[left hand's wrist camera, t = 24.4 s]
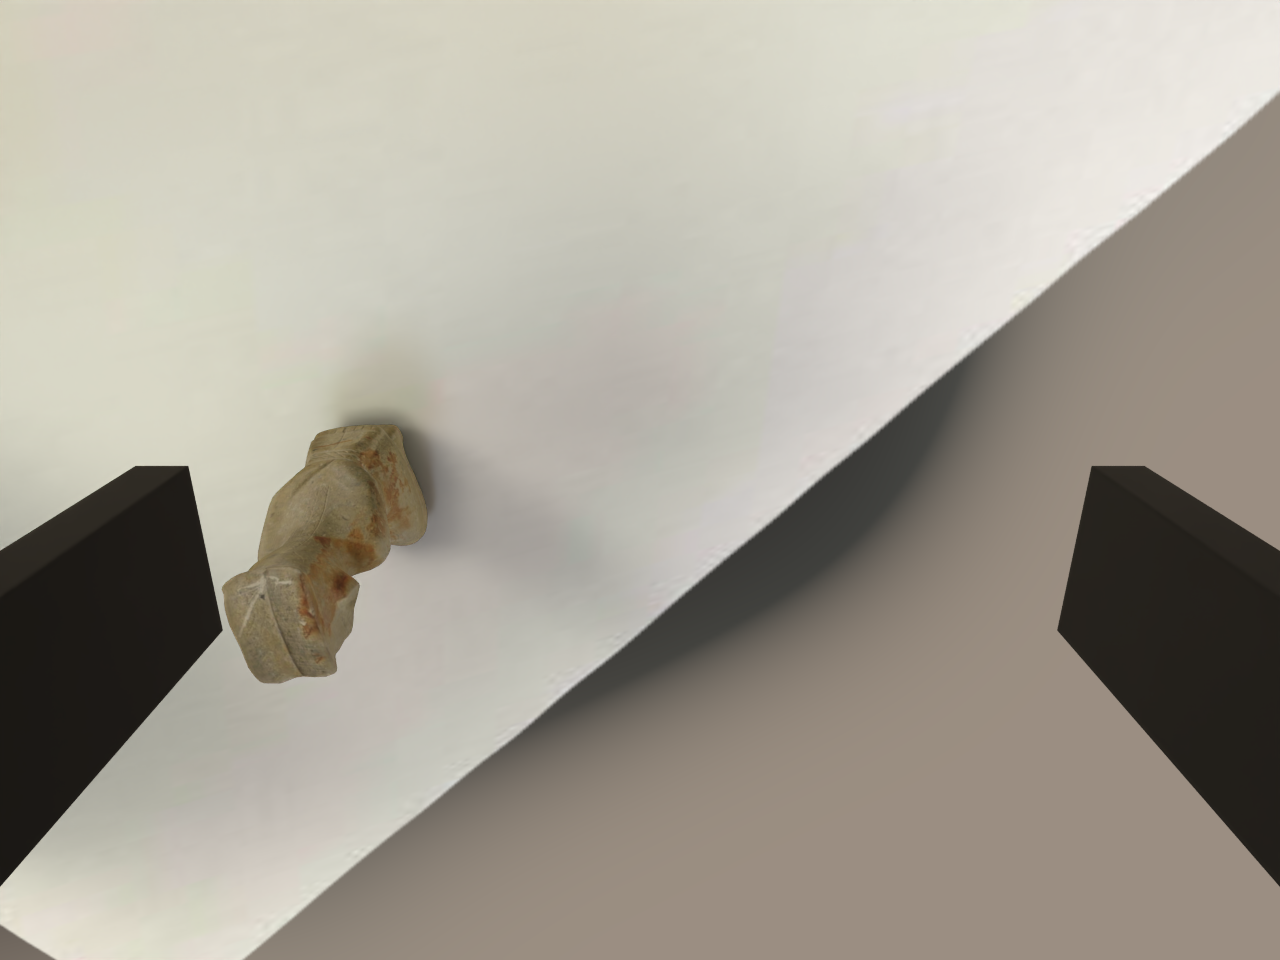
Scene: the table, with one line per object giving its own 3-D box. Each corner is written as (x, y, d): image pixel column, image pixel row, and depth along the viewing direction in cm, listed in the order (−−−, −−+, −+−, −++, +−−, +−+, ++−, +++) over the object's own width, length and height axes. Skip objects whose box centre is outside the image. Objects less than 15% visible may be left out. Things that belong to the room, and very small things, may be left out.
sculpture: (342, 538, 47) (216, 703, 33) (313, 414, 44) (163, 536, 30) (446, 530, 47) (363, 693, 33) (423, 405, 44) (322, 524, 30)
